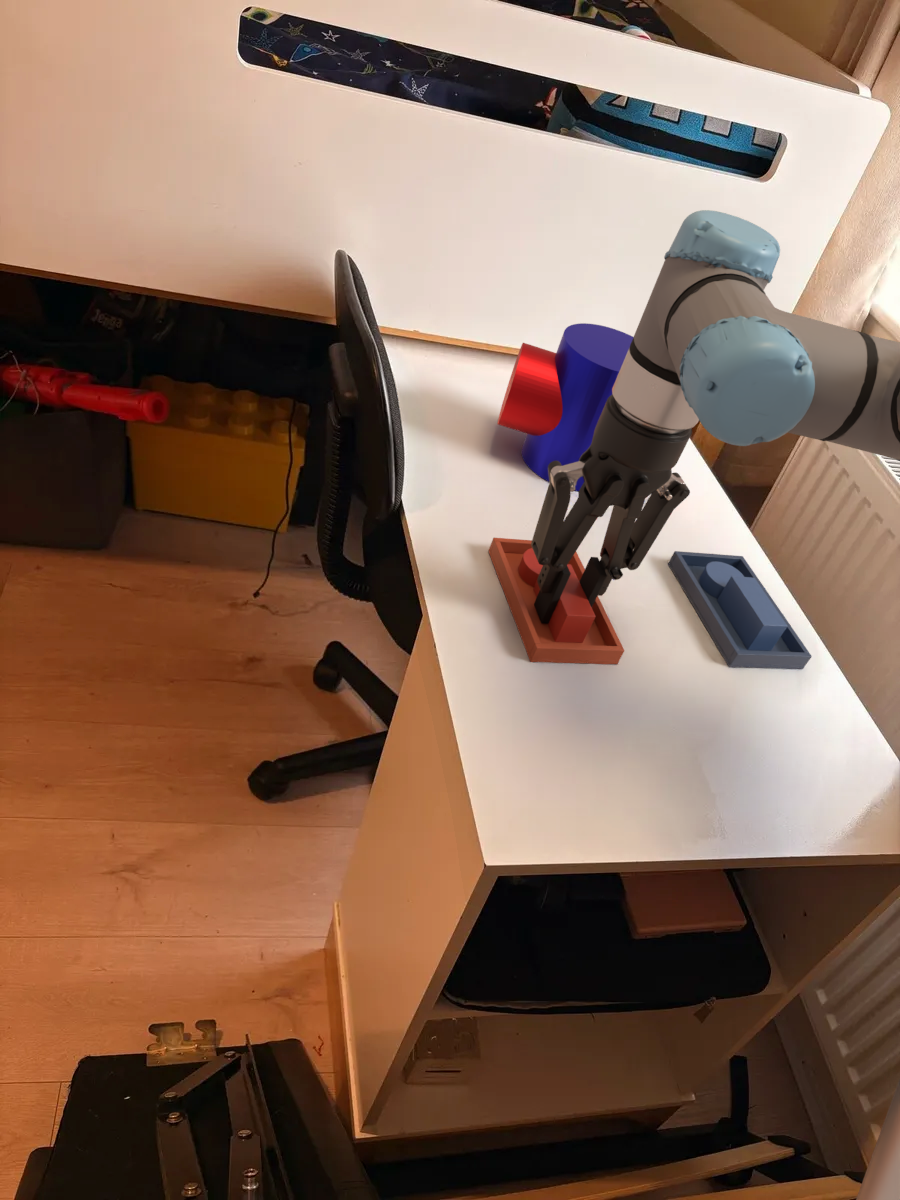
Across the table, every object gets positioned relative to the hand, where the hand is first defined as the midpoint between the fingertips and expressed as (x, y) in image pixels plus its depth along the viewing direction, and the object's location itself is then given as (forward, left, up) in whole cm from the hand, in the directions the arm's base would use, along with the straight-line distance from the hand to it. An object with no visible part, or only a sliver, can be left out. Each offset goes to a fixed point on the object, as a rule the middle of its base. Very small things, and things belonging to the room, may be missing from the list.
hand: (558, 614), depth 89 cm
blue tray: (+2, -22, -1) cm, 22 cm away
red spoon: (+2, 0, 0) cm, 2 cm away
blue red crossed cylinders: (+29, -11, -1) cm, 31 cm away
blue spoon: (+2, -22, 0) cm, 22 cm away
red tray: (+2, 0, -1) cm, 2 cm away
